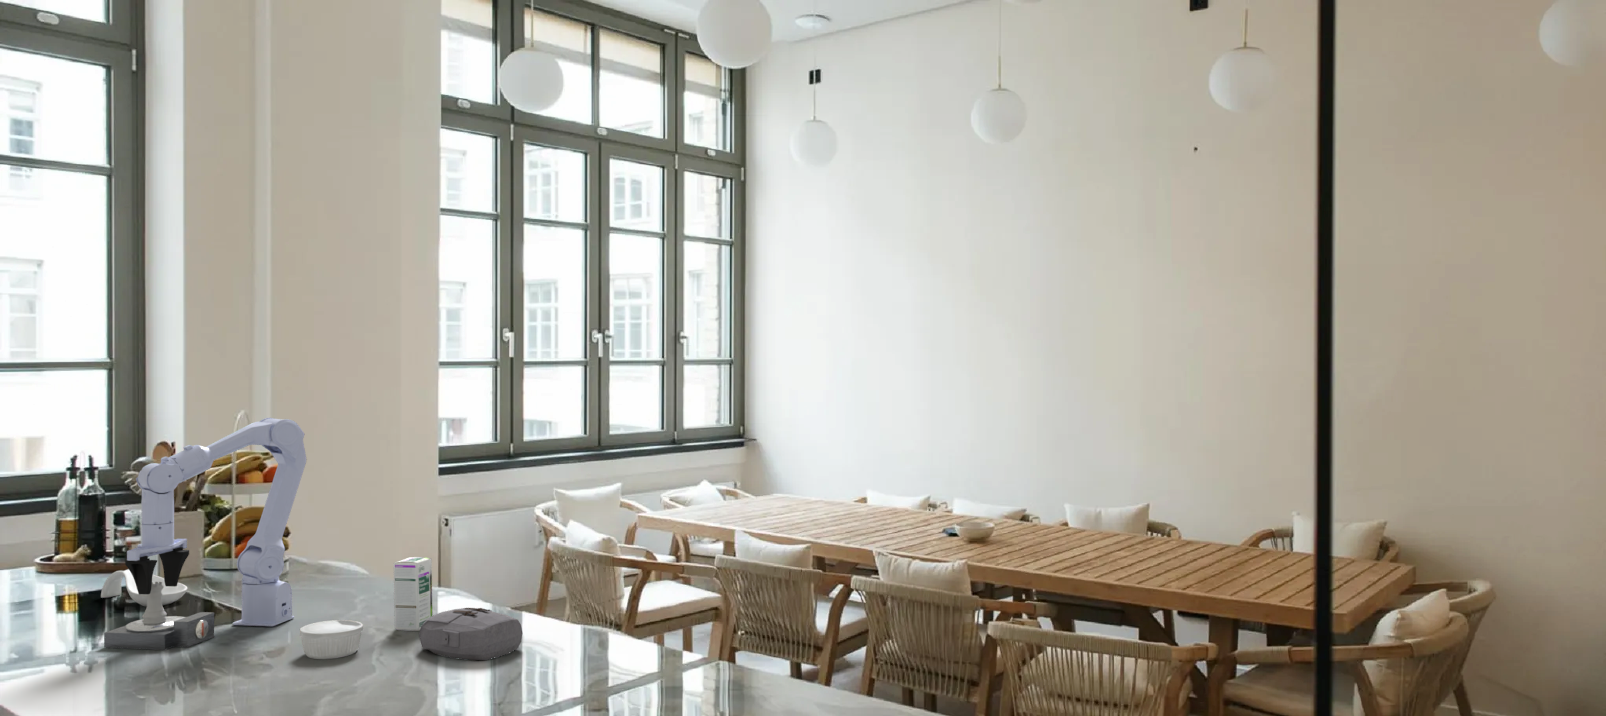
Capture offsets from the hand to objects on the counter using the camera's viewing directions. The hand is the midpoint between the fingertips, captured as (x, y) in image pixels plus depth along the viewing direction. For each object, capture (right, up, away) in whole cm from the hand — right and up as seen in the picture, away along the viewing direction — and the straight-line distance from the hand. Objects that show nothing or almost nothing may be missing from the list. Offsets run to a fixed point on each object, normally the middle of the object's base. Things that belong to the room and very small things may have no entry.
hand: (158, 590), depth 222 cm
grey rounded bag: (+65, -11, -7) cm, 66 cm away
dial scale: (+2, -10, 0) cm, 10 cm away
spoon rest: (-25, -11, +36) cm, 45 cm away
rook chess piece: (-1, -7, 0) cm, 7 cm away
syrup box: (+48, -10, +11) cm, 50 cm away
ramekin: (+39, -11, -9) cm, 42 cm away
